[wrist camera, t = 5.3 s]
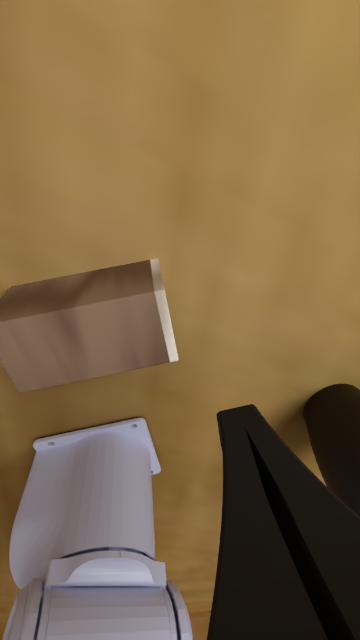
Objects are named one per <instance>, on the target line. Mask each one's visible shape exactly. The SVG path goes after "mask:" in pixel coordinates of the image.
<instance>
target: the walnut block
mask: <svg viewBox="0 0 360 640" xmlns="http://www.w3.org/2000/svg"><path fill="white" fill-rule="evenodd" d="M178 360H179V359H178V354H177V349H176V344H175V339H174V334H173V329H172V325H171V320H170V315H169V310H168V305H167V300H166V295H165V290H164V285H163V280H162V275H161V270H160V265H159V260H158V258H157V259H152V260H146V261H141V262H136V263H131V264H126V265H121V266H116V267H110V268H105V269H100V270H95V271H90V272H85V273H79V274H74V275H69V276H64V277H59V278H54V279H48V280H43V281H38V282H33V283H28V284H23V285H18V286H12V287H11V288H10V289H9V290H8V291H7V292H6V294H5V295H4V296H3V297H2V298H1V300H0V363H1V364H2V366H3V367H4V369H5V371H6V372H7V374H8V375H9V377H10V378H11V380H12V382H13V383H14V385H15V386H16V388H17V390H18V391H19V393H23V392H27V391H32V390H37V389H42V388H47V387H52V386H57V385H61V384H66V383H71V382H76V381H81V380H86V379H91V378H95V377H100V376H105V375H110V374H115V373H120V372H125V371H129V370H134V369H139V368H144V367H149V366H154V365H159V364H163V363H168V362H173V361H178Z"/></svg>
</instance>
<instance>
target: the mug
mask: <svg viewBox="0 0 360 640" xmlns="http://www.w3.org/2000/svg"><path fill="white" fill-rule="evenodd" d="M303 414H304V419H305V422H306V426H307V430H308V434H309V438H310V442H311V446H312V449H313V452H314V455H315V459H316V461H317V464H318V467H319V469H320V472H321V474H322V477H323V479H324V481H325V483H326V486H327V488H328V489H330V490H331V491H332V492H333V493H334V494H335V495H336V496H337V497H338V498H339V499H340V500H341V501H342V502H344V503H345V504H346V505H347V506H348V507H349V508H350V509H351V510H352V511H354V512H355V513H356V514H357V515H358V516H359V517H360V390H359V389H358V388H356V387H354V386H353V385H349V384H337V385H332V386H329V387H327V388H325V389H323V390H321V391H319V392H318V393H316V394H315V395H314V396H313V397H311V398H310V400H309V401H308V402H307V403H306V405H305V407H304V412H303Z"/></svg>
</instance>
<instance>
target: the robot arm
mask: <svg viewBox="0 0 360 640" xmlns="http://www.w3.org/2000/svg"><path fill="white" fill-rule="evenodd" d="M217 421H218V428H219V435H220V442H221V447H222V451H223V506H222V522H221V535H220V546H219V555H218V564H217V573H216V581H215V589H214V596H213V602H212V609H211V616H210V623H209V630H208V636H207V640H360V517H359V516H358V515H357V514H356V513H355V512H354V511H352V510H351V509H350V508H349V507H348V506H347V505H346V504H345V503H344V502H342V501H341V500H340V499H339V498H338V497H337V496H336V495H335V494H334V493H333V492H332V491H331V490H330V489H328V488H327V487H326V486H325V485H324V484H323V483H322V482H321V481H320V480H319V479H318V478H317V477H316V476H315V475H314V474H313V473H312V472H311V471H310V470H309V469H308V468H307V467H306V466H305V465H304V464H303V462H302V461H301V460H300V459H299V458H298V457H297V456H296V455H295V454H294V453H293V452H292V451H291V449H290V448H289V447H288V446H287V445H286V444H285V443H284V442H283V440H282V439H281V438H280V437H279V436H278V435H277V433H276V432H275V431H274V430H273V429H272V427H271V426H270V425H269V424H268V422H267V421H266V420H265V419H264V417H263V416H262V415H261V413H260V412H259V411H258V409H257V408H256V406H255V405H253V404H250V405H246V406H241V407H237V408H232V409H228V410H223V411H219V412H218V413H217ZM133 424H135V425H133ZM33 447H34V449H35V450H36V454H35V457H34V461H33V464H32V467H31V470H30V473H29V476H28V480H27V483H26V486H25V489H24V492H23V495H22V499H21V502H20V505H19V508H18V511H17V514H16V518H15V521H14V524H13V528H12V534H11V540H10V553H9V561H10V570H11V574H12V577H13V579H14V582H15V583H16V585H17V586H18V587H19V588H20V589H21V590H20V591H19V592H18V594H17V596H16V598H15V601H14V603H13V606H12V609H11V612H10V616H9V619H8V622H7V625H6V628H5V632H4V635H3V639H2V640H193V637H192V630H191V623H190V618H189V614H188V610H187V607H186V604H185V602H184V600H183V598H182V596H181V593H180V591H179V589H178V587H177V586H176V585H175V583H174V582H172V581H171V580H166V570H165V563H164V562H158V561H156V558H155V539H154V519H153V500H152V480H151V475H153V474H157V473H159V472H160V471H161V467H160V464H159V461H158V458H157V454H156V451H155V448H154V445H153V442H152V439H151V436H150V433H149V430H148V427H147V424H146V421H145V419H143V418H135V419H130V420H126V421H121V422H116V423H111V424H107V425H102V426H97V427H92V428H88V429H83V430H78V431H73V432H69V433H64V434H59V435H54V436H50V437H45V438H40V439H37V440H35V441H34V443H33Z"/></svg>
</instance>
